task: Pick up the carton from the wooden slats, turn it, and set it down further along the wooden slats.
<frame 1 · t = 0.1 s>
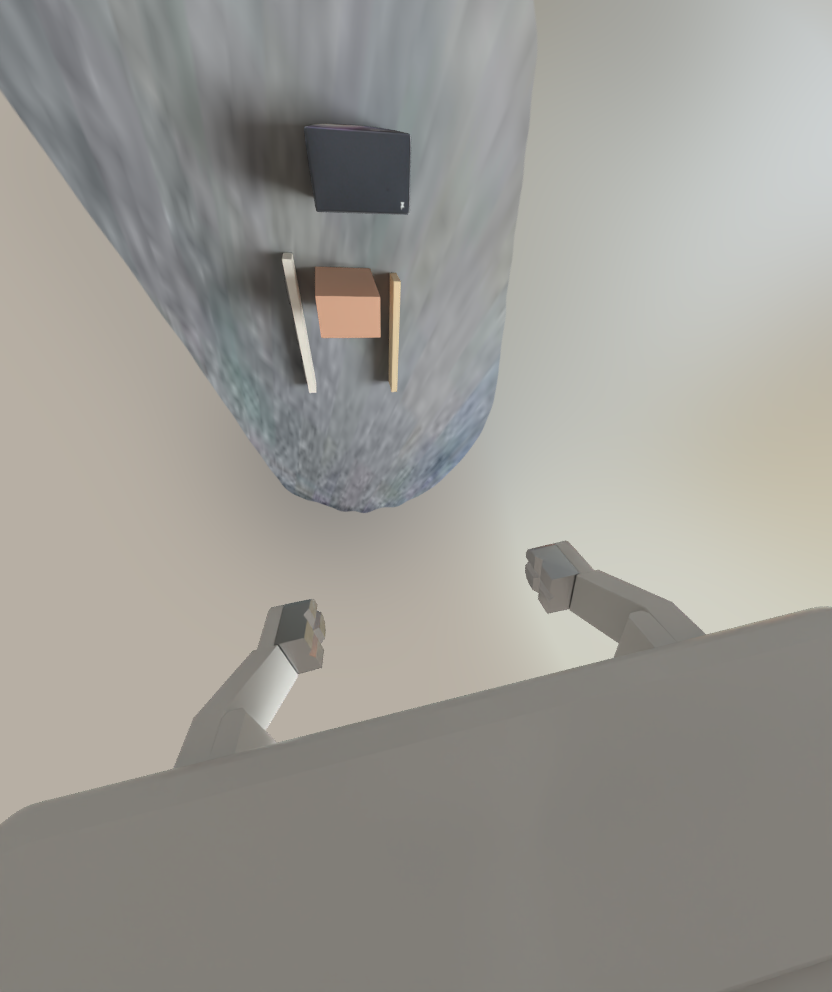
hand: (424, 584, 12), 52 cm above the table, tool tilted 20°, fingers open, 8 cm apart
small box: (354, 165, 39), on the table
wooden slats: (345, 327, 52), on the table
carton: (344, 286, 48), on the table
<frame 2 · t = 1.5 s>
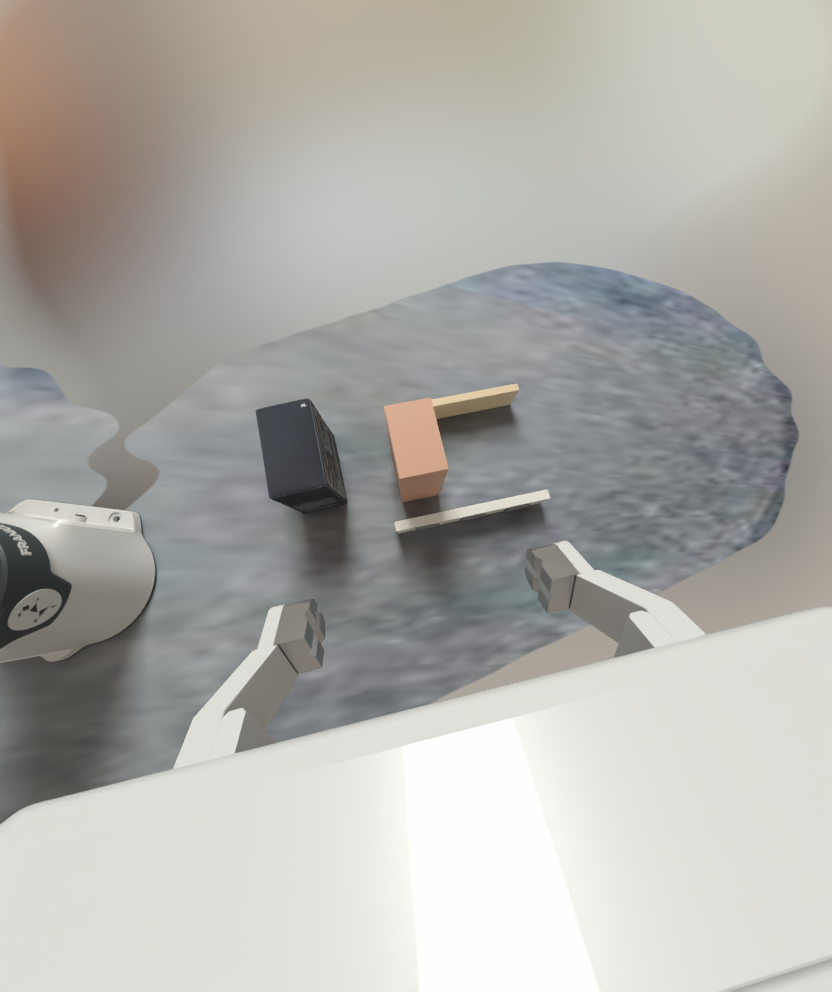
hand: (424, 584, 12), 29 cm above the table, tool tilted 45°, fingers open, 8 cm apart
small box: (318, 473, 43), on the table
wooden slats: (456, 465, 43), on the table
carton: (414, 471, 43), on the table
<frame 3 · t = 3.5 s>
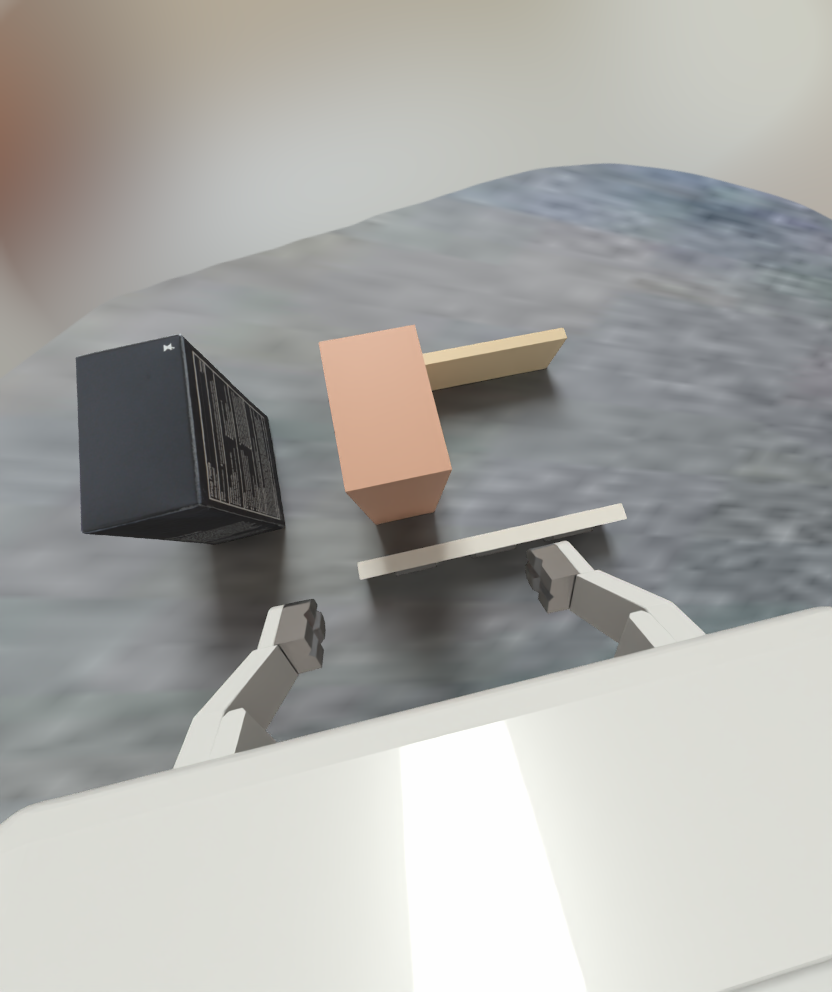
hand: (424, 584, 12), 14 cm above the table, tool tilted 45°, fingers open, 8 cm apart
small box: (241, 478, 27), on the table
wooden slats: (463, 464, 27), on the table
carton: (395, 473, 27), on the table
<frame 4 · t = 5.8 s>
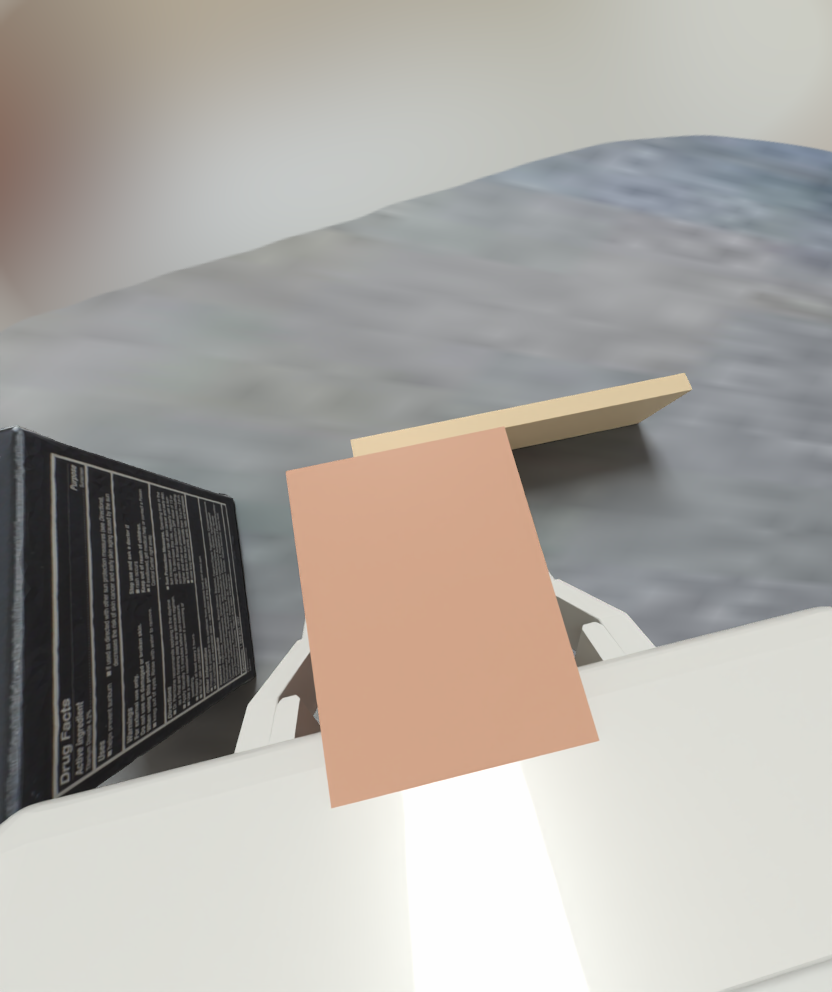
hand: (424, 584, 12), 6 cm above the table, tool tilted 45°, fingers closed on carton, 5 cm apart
small box: (192, 595, 18), on the table
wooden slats: (524, 573, 18), on the table
carton: (422, 588, 18), on the table, touching gripper
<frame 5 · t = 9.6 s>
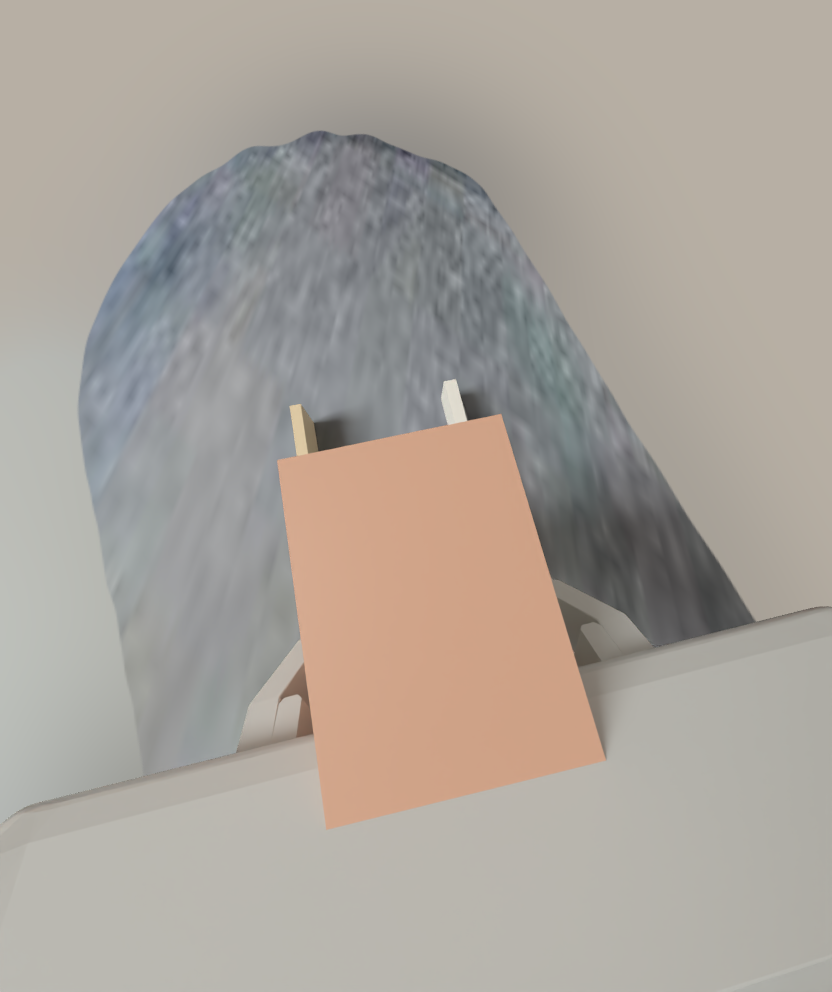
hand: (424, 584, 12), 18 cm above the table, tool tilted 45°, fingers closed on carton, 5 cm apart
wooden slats: (402, 498, 31), on the table
carton: (421, 584, 18), point 12 cm above the table, touching gripper
when the fingers open (7 cm above the table, at t = 13.3 s): carton drops 1 cm, on the table.
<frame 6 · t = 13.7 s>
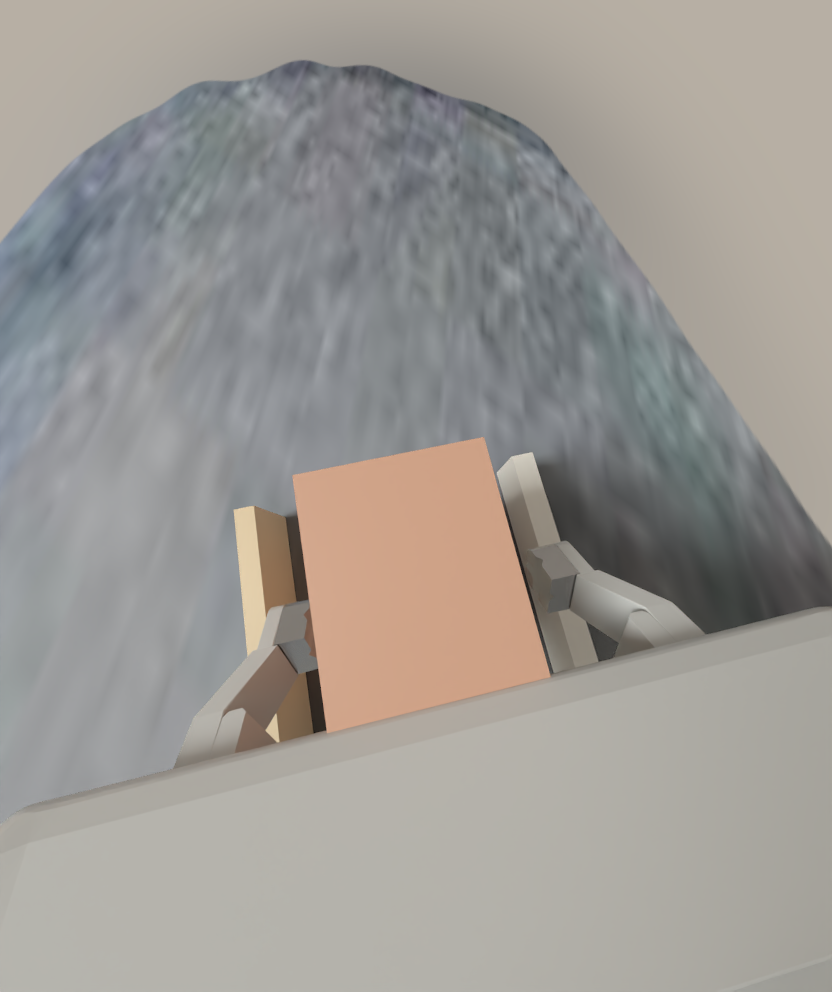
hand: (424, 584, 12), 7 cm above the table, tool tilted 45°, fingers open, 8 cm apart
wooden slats: (436, 657, 18), on the table
carton: (417, 584, 19), on the table
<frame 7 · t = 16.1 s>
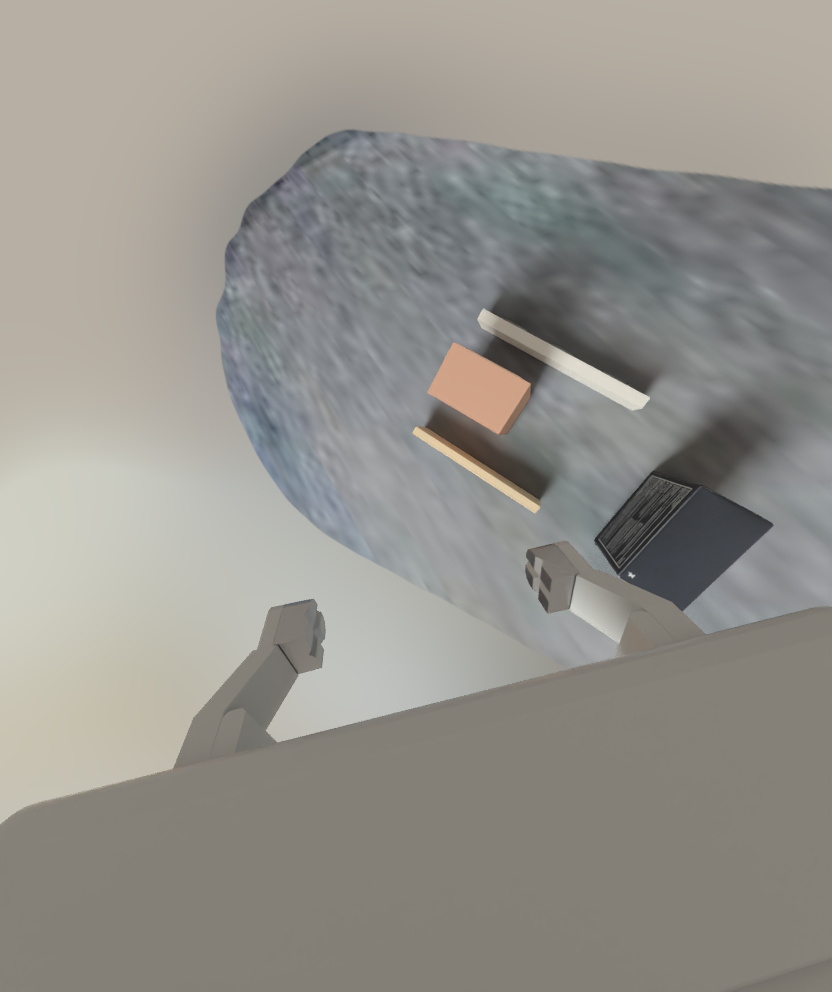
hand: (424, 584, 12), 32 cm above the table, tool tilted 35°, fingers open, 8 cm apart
small box: (646, 521, 36), on the table
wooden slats: (520, 415, 39), on the table
carton: (490, 400, 39), on the table
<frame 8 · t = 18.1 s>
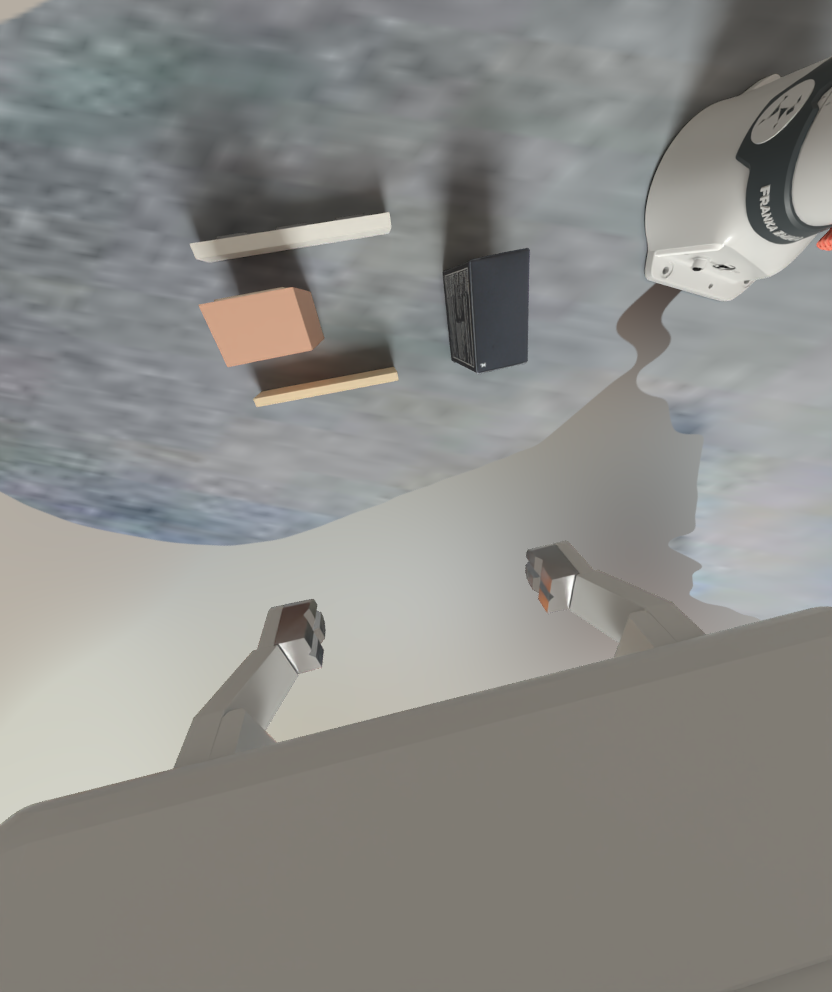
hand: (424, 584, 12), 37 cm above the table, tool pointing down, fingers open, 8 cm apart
small box: (470, 314, 41), on the table
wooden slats: (318, 313, 38), on the table
carton: (285, 322, 38), on the table
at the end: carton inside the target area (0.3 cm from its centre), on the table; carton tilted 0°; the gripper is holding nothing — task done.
